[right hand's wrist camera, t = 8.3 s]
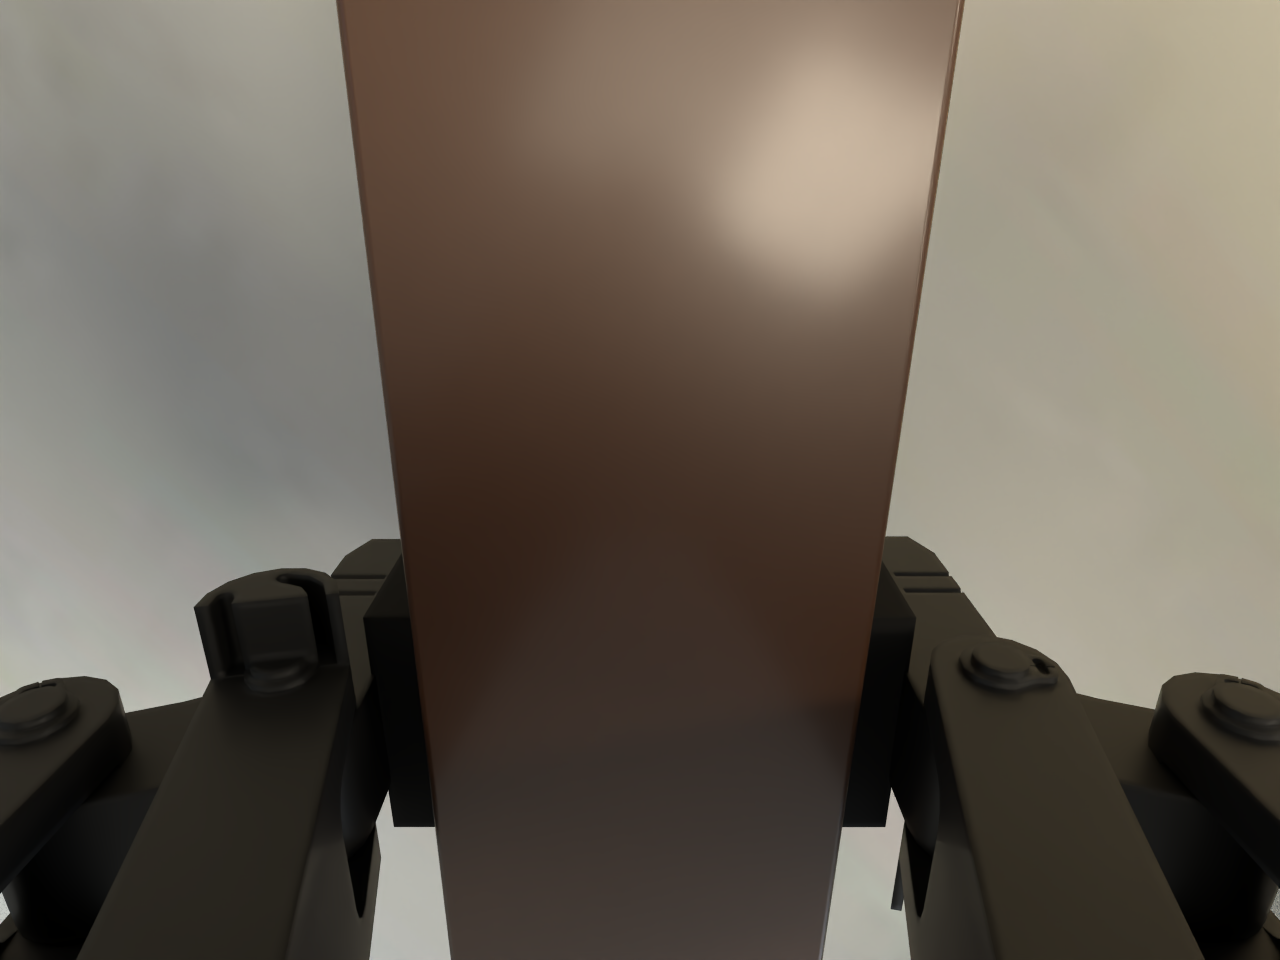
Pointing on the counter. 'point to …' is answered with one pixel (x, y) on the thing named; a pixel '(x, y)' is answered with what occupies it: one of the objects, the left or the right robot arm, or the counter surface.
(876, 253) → the walnut rail
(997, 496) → the counter surface
